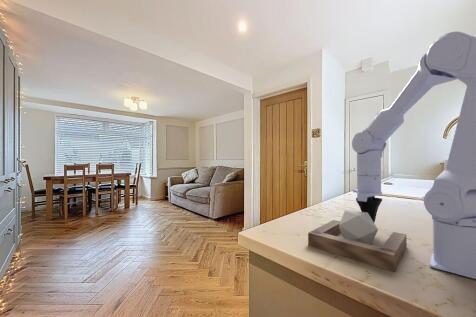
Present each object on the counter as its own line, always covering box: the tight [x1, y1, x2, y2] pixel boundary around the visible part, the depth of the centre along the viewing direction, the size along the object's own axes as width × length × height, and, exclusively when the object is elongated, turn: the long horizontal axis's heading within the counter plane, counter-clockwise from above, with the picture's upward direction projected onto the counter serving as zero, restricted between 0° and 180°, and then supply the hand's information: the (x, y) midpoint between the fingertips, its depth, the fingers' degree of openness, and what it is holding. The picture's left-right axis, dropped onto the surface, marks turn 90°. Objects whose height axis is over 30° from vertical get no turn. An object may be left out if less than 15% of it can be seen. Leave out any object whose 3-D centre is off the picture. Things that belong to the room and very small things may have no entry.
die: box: [339, 210, 379, 245], centre depth 51 cm, size 8×9×10 cm
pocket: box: [307, 219, 408, 272], centre depth 50 cm, size 17×16×3 cm
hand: (369, 223), depth 58 cm, fingers closed
